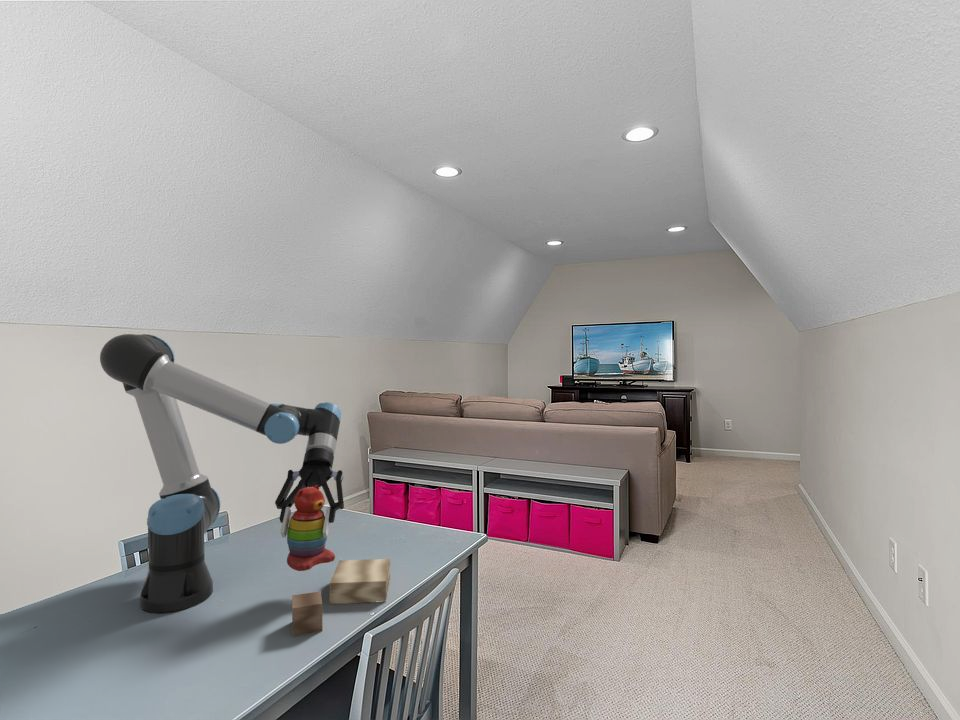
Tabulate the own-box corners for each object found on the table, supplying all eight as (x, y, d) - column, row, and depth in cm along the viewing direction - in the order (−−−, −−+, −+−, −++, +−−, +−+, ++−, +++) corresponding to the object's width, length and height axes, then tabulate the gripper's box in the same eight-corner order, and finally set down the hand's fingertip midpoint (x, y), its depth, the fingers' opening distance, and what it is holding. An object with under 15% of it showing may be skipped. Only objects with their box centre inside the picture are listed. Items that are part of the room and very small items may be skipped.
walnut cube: (292, 636, 110) (292, 608, 109) (292, 622, 115) (292, 595, 115) (322, 631, 112) (322, 603, 112) (320, 617, 117) (320, 591, 117)
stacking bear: (300, 573, 121) (302, 496, 120) (275, 561, 127) (278, 487, 126) (338, 559, 129) (341, 487, 129) (313, 548, 135) (316, 480, 135)
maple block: (329, 604, 123) (329, 583, 123) (339, 579, 136) (339, 560, 136) (385, 601, 124) (385, 581, 124) (390, 577, 137) (390, 558, 137)
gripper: (362, 462, 144) (352, 541, 128) (280, 461, 142) (260, 542, 126) (360, 446, 138) (349, 527, 123) (275, 445, 136) (253, 527, 121)
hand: (304, 534), depth 125 cm, fingers closed on stacking bear, 9 cm apart
